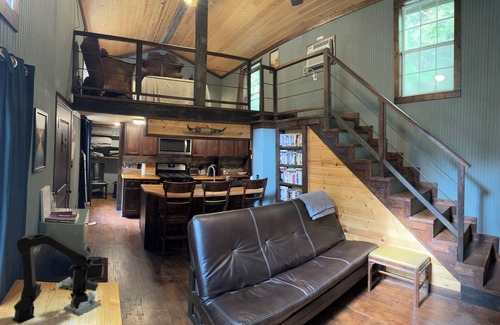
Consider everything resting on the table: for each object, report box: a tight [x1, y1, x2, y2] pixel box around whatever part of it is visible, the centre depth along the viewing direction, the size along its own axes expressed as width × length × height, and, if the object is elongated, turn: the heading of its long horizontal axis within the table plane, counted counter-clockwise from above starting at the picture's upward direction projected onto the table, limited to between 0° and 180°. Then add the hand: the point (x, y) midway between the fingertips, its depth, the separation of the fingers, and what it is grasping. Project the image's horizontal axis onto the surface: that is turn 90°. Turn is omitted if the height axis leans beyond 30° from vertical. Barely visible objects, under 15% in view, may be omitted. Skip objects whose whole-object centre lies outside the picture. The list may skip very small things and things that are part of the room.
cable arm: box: [70, 290, 97, 309], centre depth 150 cm, size 13×3×4 cm, turn 158°
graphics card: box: [55, 276, 73, 291], centre depth 170 cm, size 17×4×12 cm
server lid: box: [64, 299, 102, 316], centre depth 150 cm, size 12×12×2 cm
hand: (76, 308), depth 142 cm, fingers closed
